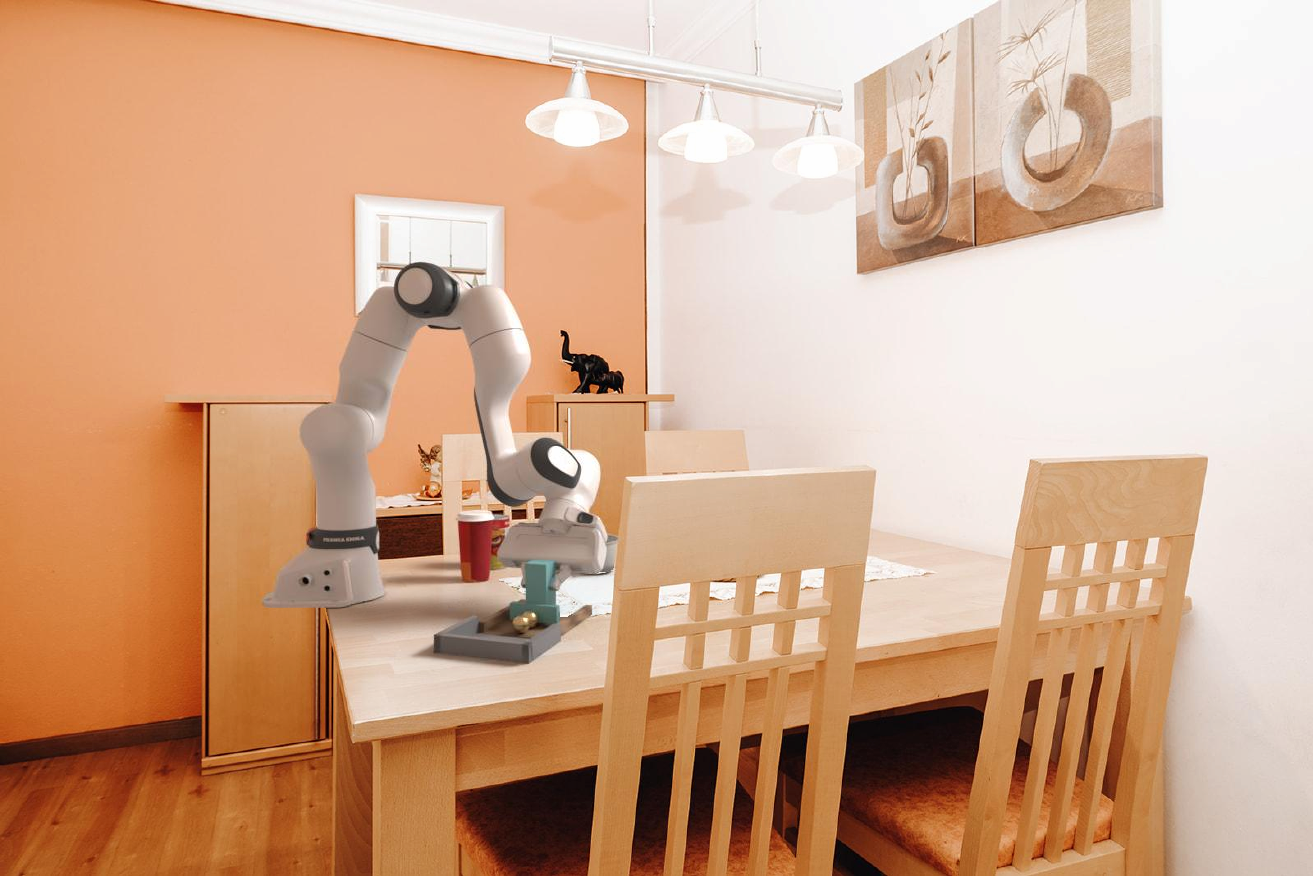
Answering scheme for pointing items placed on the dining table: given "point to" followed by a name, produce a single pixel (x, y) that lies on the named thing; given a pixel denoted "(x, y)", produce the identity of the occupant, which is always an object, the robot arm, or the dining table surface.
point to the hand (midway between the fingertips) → (539, 588)
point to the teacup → (610, 553)
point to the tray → (494, 642)
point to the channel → (503, 626)
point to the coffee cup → (475, 544)
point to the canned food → (498, 539)
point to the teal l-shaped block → (538, 592)
